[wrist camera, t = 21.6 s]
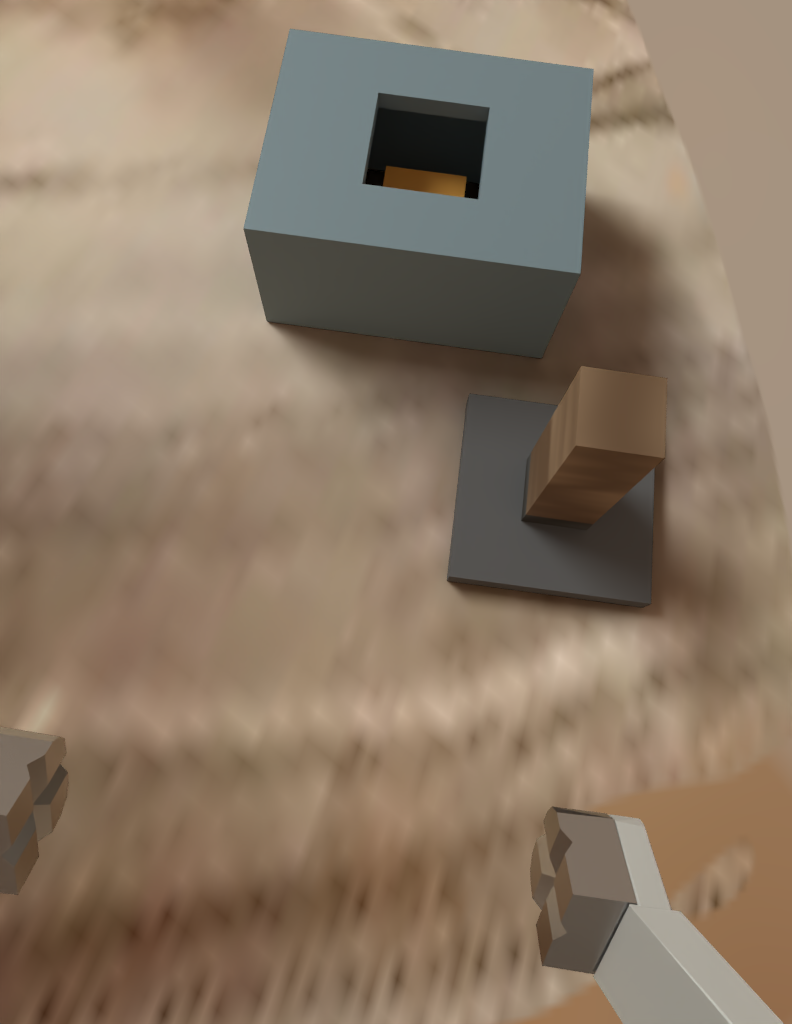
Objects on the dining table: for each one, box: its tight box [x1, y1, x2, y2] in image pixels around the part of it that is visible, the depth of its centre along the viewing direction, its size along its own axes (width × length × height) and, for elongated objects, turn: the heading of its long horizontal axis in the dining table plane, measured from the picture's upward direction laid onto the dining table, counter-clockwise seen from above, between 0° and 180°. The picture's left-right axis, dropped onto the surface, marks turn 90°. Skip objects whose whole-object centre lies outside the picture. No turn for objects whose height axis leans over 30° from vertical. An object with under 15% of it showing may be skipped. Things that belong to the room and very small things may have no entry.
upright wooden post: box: [521, 366, 667, 530], centre depth 29 cm, size 3×3×9 cm
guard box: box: [244, 29, 594, 358], centre depth 34 cm, size 14×11×7 cm
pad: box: [447, 394, 655, 607], centre depth 33 cm, size 9×9×1 cm
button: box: [383, 166, 467, 197], centre depth 36 cm, size 4×4×3 cm
